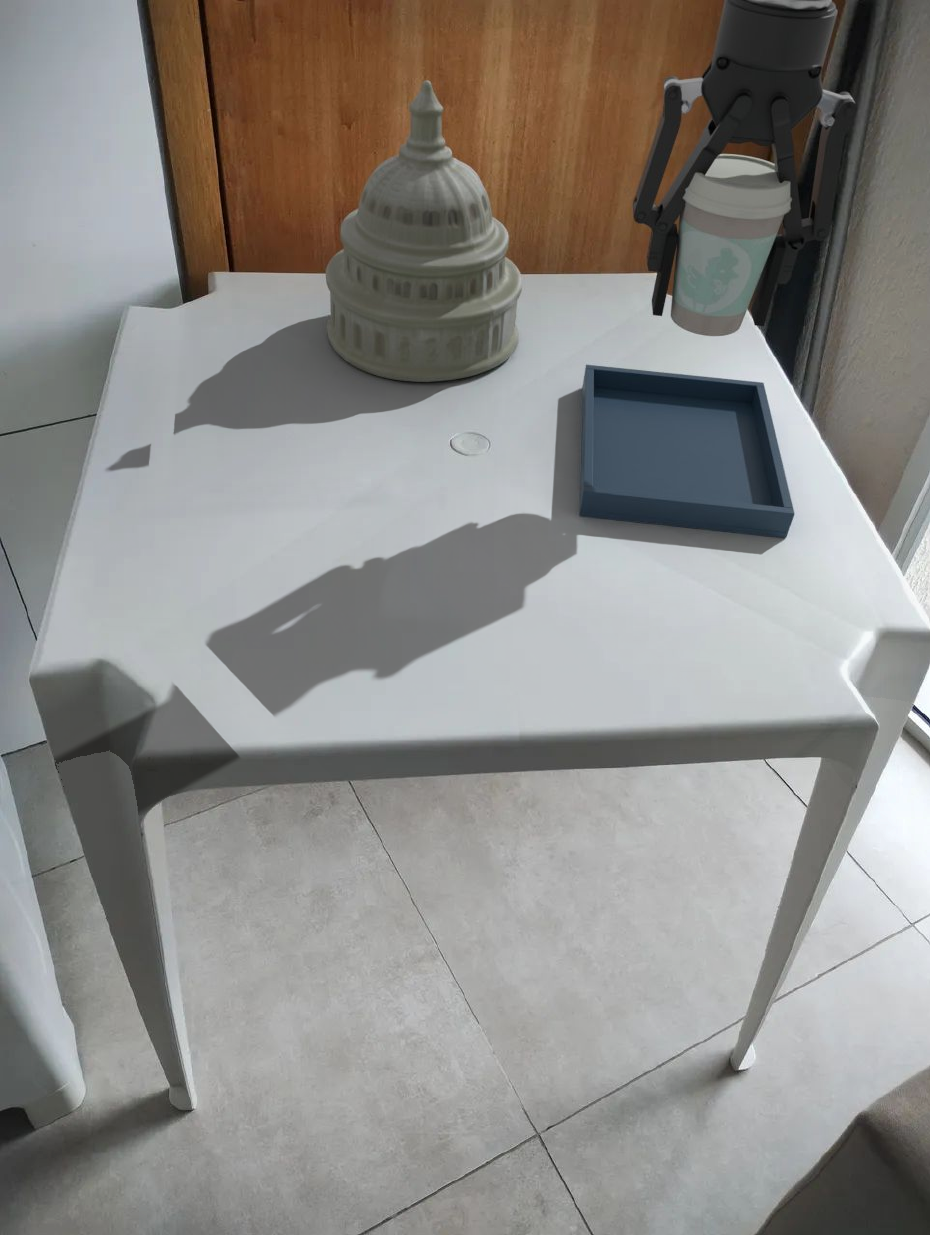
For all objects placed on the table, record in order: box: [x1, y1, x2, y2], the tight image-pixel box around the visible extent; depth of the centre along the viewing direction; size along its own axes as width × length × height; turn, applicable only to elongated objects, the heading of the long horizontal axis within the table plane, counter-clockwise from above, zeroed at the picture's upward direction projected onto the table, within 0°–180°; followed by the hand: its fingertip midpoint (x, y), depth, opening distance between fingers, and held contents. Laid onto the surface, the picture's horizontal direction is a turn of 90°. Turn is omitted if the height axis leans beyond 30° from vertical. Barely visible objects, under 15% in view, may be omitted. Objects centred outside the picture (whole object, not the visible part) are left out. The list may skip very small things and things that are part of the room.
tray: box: [578, 364, 795, 539], centre depth 92 cm, size 22×18×3 cm
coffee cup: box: [670, 153, 792, 337], centre depth 79 cm, size 8×9×12 cm
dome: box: [325, 80, 523, 383], centre depth 98 cm, size 20×25×20 cm
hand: (707, 312), depth 83 cm, fingers closed on coffee cup, 8 cm apart
